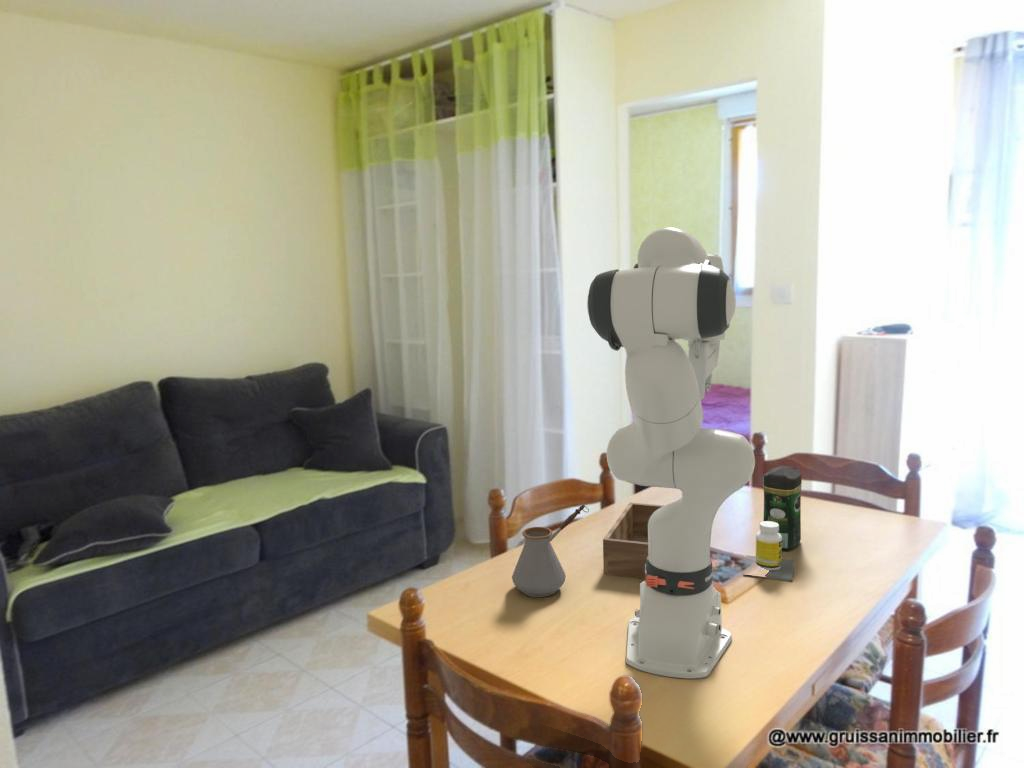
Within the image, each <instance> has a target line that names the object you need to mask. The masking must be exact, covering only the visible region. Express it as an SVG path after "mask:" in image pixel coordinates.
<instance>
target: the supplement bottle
mask: <svg viewBox="0 0 1024 768" xmlns="http://www.w3.org/2000/svg"><path fill="white" fill-rule="evenodd" d="M778 531H779V524H778V523H776V522H772V521H761V522H759V531H758V532H756V534H755V556H756V558H755V563H756V564H757V565H758V566H760V567H761V568H764V569H766V570H769V571H773V570H778V569H780V568H781V559H782V550H783V549H782V536H781V535H780V534H779V533H778Z"/></svg>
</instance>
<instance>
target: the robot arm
mask: <svg viewBox="0 0 1024 768" xmlns="http://www.w3.org/2000/svg"><path fill="white" fill-rule="evenodd" d="M736 304H737V300H736V293H735V290H734V287H733V284H732V283H731V278H730V276H729V275H728V274H727V273H726V272H725V269H724V264H723V259H722V257H721V256H719V255H717V254H714V253H713V254H711V253H707V252H706V250H705V248H704V246H703V245H702V244H701V243H700V241H699V240H698V239H696V237H694V236H693V235H692V234H690V233H689V232H686V231H684V230H683V229H678V228H676V227H663V228H660V229H656V230H655V231H652V232H651V233H649V234H648V235H647V236H646V237H645V238H644V239H643V241H642V243H641V244H640V246H639V249H638V253H637V263H636V264H634V266H633V268H628V269H623V270H620V269H617V268H616V269H610V270H607V271H604V272H602V273H601V272H600V273H598V274H597V275H596V276H595V277H594V279H593V280H592V282H591V283H590V286H589V290H588V295H587V300H586V308H587V314H588V317H589V322H590V325H591V327H592V328H593V330H594V332H596V333H597V334H598V336H599V337H600V338H601V339H602V340H605V342H608V345H609V347H610V348H611V350H612V351H616V352H618V351H619V350H620V349H621V347H622V348H624V351H625V353H626V356H625V357H626V359H625V367H624V369H625V370H624V374H625V375H624V376H625V377H624V378H625V379H624V381H625V388H626V395H627V399H628V403H629V406H630V410H631V413H632V417H633V422H631V423H630V424H628V425H627V426H624V427H621V428H619V429H618V430H617V431H615V432H614V434H613V435H612V437H611V438H610V439H609V441H608V444H607V448H606V461H607V465H608V468H609V470H610V472H611V474H612V475H613V476H614V477H615V478H616V479H617V480H619V481H622V482H626V483H629V484H634V485H637V486H640V487H650V488H651V487H653V488H663V489H664V488H665V489H677V490H680V491H681V498H679V499H677V500H676V501H673V502H670V503H667V504H665V505H664V506H663V507H661V508H659V509H657V510H656V511H655V512H654V513H653V514H652V515H651V517H650V519H649V522H648V536H647V543H648V556H647V558H646V564H645V579H644V580H643V581H642V582H640V583H639V602H640V603H639V604H640V605H639V609H635V611H634V615H635V616H633V617H630V618H629V619H628V624H627V626H628V627H627V640H626V654H625V663H626V664H628V665H629V666H630V667H632V668H635V669H637V670H640V671H642V672H645V673H649V674H654V675H659V676H664V677H671V678H676V679H702V678H707V677H708V676H709V675H710V673H712V671H713V669H714V668H715V666H716V665H717V663H718V661H719V660H720V658H721V657H722V655H723V654H724V653H725V651H726V649H728V646H730V644H731V643H732V641H733V638H732V636H733V635H732V633H731V632H730V631H729V630H727V629H725V628H723V621H722V620H723V619H722V618H723V617H722V594H721V592H719V591H718V590H717V589H716V587H714V585H713V578H714V576H713V575H714V567H713V561H712V559H711V538H712V532H713V531H712V530H713V529H712V528H713V523H714V520H715V517H716V515H717V513H718V511H719V509H720V507H721V506H722V505H723V503H724V502H725V501H726V500H727V499H728V498H729V497H731V496H732V495H734V493H736V492H738V491H740V490H741V489H743V488H745V486H746V485H747V484H748V483H749V481H750V479H751V478H752V476H753V473H754V471H755V466H756V465H755V464H756V458H755V457H756V456H755V453H754V450H753V447H752V445H751V443H750V442H749V440H748V439H747V438H746V437H745V436H744V435H743V434H739V433H736V432H732V431H728V430H723V429H719V428H706V427H703V428H702V425H703V424H704V410H703V406H702V405H703V404H702V400H704V399H705V397H706V392H710V391H711V385H712V383H711V382H712V377H713V372H714V371H715V369H716V368H717V367H718V363H719V353H720V345H721V344H720V343H721V341H722V340H725V338H726V331H727V330H728V328H730V323H731V321H732V319H733V317H734V315H735V310H736V306H737V305H736ZM676 340H684V341H687V342H688V344H687V346H688V354H687V353H686V351H685V349H684V348H683V346H681V344H680V343H678V342H677V341H676Z"/></svg>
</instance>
